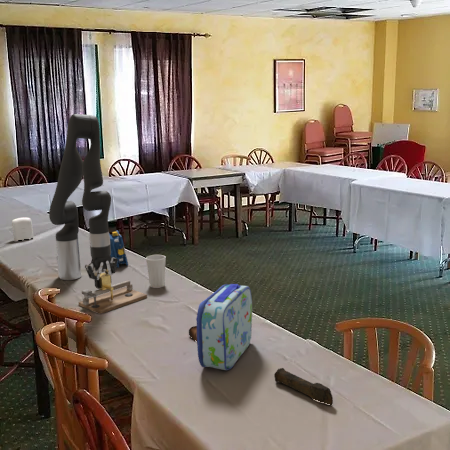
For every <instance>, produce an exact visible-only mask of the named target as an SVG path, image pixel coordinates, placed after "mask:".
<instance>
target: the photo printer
mask: <svg viewBox="0 0 450 450" xmlns="http://www.w3.org/2000/svg"><path fill="white" fill-rule="evenodd" d="M32 222H33V221H32V219H31V217H23V216H22V217H18V218H15V219H12V221H11V226H12V228H11V229H12V234H13V235H12V236H13V241H14V240H15V241H14V242H19V241H18V240H22V241H25V240H24V239H29V238H33V239H34V232H33V231H34V230H33V223H32ZM29 240H30V239H29Z"/></svg>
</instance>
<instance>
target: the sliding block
mask: <svg viewBox="0 0 450 450" xmlns="http://www.w3.org/2000/svg"><path fill="white" fill-rule="evenodd" d="M111 281H112V276H111V277H110V275H108V274H105V272H101V274H100V284H101V289H100V290H105V289H109V290H110V292H111V300H113V291H114V290H113V287H111V285H112V283H111Z"/></svg>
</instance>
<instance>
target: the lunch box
mask: <svg viewBox="0 0 450 450" xmlns="http://www.w3.org/2000/svg"><path fill="white" fill-rule="evenodd" d="M195 319H196V326H197V343H196V344H197V357H198V363H199V364H200V365H199V366H200V367H202V368H214V369H218V370H222V371H230V370H231V369H232V368H233V367H234V366H235V365H236V363H237V361H238V360H239V359H240V357H241V356H242V355H243V354H244V352H245V351H246V350H247V349H248V347H249V346H250V343H251V340H252V325H253V324H252V323H253V300H252V291H251V288H250V287H249V286H248V285H239V283H230V284H228V283H225V284H223V285H221V286H220V287H219V288H218V289H216V291H214V292H213V293H212V294H210V295H209V296H208V297H206V298H205V299H204V300H202V301H201V302H200V303H199V304H198V307H197V313H196V318H195Z"/></svg>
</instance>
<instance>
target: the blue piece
mask: <svg viewBox="0 0 450 450" xmlns="http://www.w3.org/2000/svg"><path fill="white" fill-rule="evenodd" d="M111 233H112V234H110V232H109V236H110V247H111V255H110V256H111V258H112V257H114V258H117V259H118V261H117V266H116V269H117V268H120V265H124V264H125V265H126V266H129V262H128V261H129V260H128V256H127V253H126V248H125V243H124V238H123V236H122V235H121V234H120V232H119V230H115V231H112V232H111ZM110 264H111V262H110Z"/></svg>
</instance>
